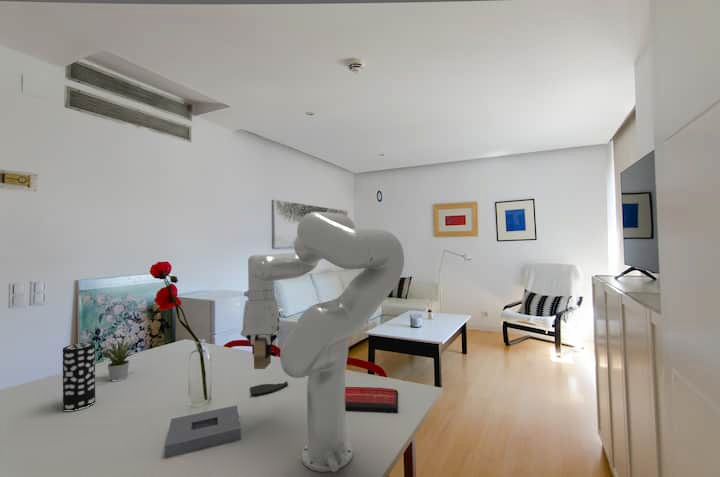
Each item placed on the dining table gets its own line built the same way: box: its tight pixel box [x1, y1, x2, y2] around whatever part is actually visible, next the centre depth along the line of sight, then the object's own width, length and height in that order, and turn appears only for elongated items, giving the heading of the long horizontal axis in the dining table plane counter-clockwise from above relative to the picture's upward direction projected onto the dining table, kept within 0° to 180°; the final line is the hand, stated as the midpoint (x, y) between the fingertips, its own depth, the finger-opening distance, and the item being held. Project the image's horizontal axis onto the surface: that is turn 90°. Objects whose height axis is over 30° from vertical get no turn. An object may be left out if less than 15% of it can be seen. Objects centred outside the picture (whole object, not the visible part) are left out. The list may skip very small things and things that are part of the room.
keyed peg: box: [253, 336, 272, 370], centre depth 99 cm, size 5×3×8 cm, turn 176°
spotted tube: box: [62, 341, 96, 410], centre depth 111 cm, size 8×8×20 cm
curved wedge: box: [249, 381, 289, 398], centre depth 120 cm, size 8×14×2 cm, turn 111°
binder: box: [345, 386, 399, 414], centre depth 110 cm, size 16×2×21 cm
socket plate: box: [164, 404, 242, 459], centre depth 92 cm, size 14×18×3 cm
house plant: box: [98, 337, 141, 381], centre depth 135 cm, size 14×14×16 cm
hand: (262, 356), depth 99 cm, fingers closed on keyed peg, 2 cm apart
